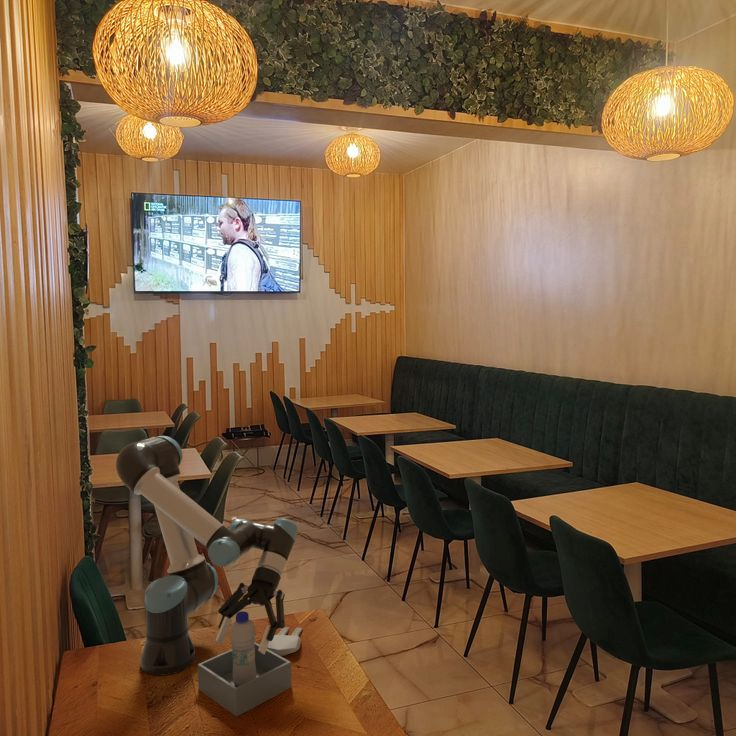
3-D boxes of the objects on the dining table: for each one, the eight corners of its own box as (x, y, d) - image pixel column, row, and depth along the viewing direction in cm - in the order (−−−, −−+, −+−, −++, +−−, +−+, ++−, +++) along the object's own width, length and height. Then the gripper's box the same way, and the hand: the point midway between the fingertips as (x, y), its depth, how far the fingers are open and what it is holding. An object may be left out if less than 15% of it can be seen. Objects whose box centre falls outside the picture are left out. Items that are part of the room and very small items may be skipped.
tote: (198, 689, 171) (197, 664, 170) (252, 663, 183) (251, 640, 183) (236, 716, 159) (235, 689, 158) (291, 687, 171) (290, 662, 171)
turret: (308, 637, 203) (308, 622, 204) (294, 660, 184) (295, 643, 184) (277, 636, 204) (278, 621, 205) (261, 659, 185) (261, 642, 185)
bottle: (251, 692, 167) (249, 618, 166) (228, 690, 168) (225, 617, 167) (261, 678, 174) (258, 607, 172) (238, 676, 175) (235, 605, 174)
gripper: (312, 583, 178) (285, 661, 166) (238, 571, 189) (207, 643, 176) (302, 572, 173) (274, 651, 161) (227, 559, 183) (194, 633, 171)
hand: (239, 647), depth 168 cm, fingers open, 13 cm apart
